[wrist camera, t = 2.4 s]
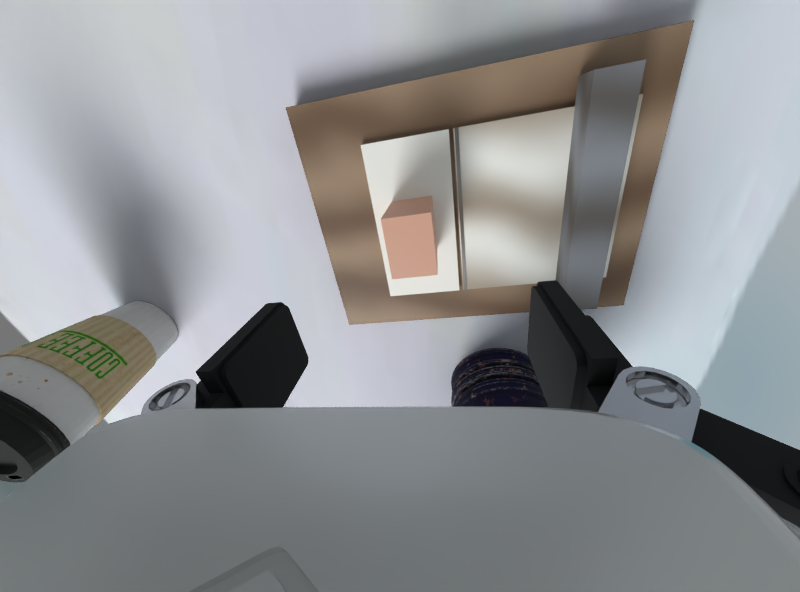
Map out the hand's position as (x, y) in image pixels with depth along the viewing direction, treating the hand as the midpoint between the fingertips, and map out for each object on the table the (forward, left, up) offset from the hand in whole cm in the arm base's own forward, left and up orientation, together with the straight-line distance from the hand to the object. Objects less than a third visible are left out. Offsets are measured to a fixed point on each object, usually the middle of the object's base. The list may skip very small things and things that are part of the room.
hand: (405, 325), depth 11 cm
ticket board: (0, +4, -15) cm, 15 cm away
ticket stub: (0, 0, -13) cm, 13 cm away
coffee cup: (+8, -32, -15) cm, 36 cm away
